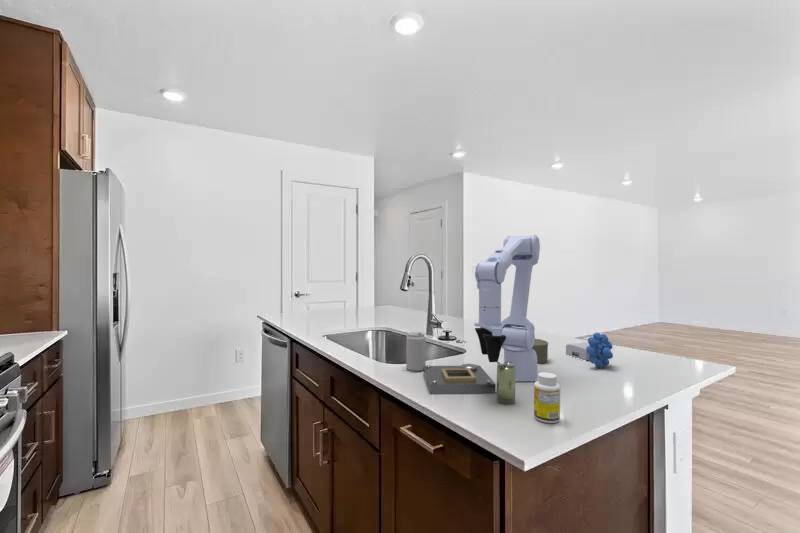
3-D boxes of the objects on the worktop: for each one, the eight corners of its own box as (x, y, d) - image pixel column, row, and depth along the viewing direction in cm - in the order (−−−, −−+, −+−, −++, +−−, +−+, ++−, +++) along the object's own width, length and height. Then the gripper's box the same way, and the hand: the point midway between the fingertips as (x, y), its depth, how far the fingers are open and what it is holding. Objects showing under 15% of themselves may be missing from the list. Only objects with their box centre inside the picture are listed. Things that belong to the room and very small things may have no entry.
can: (548, 366, 131) (548, 346, 131) (511, 363, 135) (511, 343, 135) (548, 358, 142) (548, 339, 142) (514, 355, 146) (514, 337, 146)
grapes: (598, 373, 123) (598, 336, 122) (580, 367, 129) (581, 332, 129) (623, 369, 127) (623, 333, 127) (604, 363, 134) (605, 329, 133)
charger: (615, 357, 143) (585, 362, 137) (594, 352, 151) (565, 356, 145) (615, 345, 143) (586, 348, 137) (594, 340, 151) (565, 343, 145)
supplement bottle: (539, 412, 92) (539, 369, 92) (563, 418, 88) (563, 374, 88) (530, 419, 88) (530, 375, 87) (555, 426, 84) (555, 380, 84)
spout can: (511, 398, 101) (512, 359, 101) (517, 404, 97) (518, 364, 96) (494, 398, 101) (494, 359, 101) (499, 405, 96) (499, 364, 96)
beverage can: (424, 372, 123) (424, 335, 123) (404, 371, 125) (404, 334, 124) (426, 367, 130) (426, 331, 129) (408, 366, 131) (408, 331, 131)
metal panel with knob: (479, 373, 123) (479, 362, 123) (495, 393, 105) (495, 380, 105) (423, 373, 122) (423, 362, 122) (429, 393, 104) (429, 381, 104)
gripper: (469, 303, 109) (469, 351, 109) (481, 310, 94) (480, 365, 94) (494, 303, 109) (493, 351, 109) (509, 310, 94) (509, 365, 95)
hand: (489, 357), depth 102 cm, fingers open, 7 cm apart
